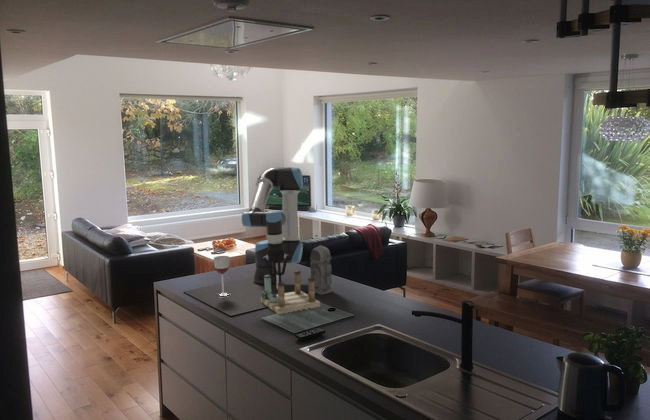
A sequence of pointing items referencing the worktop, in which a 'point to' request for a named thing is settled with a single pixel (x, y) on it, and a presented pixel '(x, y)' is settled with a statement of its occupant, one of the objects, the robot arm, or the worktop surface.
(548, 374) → the worktop surface
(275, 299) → the folding leg
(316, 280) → the figurine
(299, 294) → the stool
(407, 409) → the worktop surface
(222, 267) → the wineglass
